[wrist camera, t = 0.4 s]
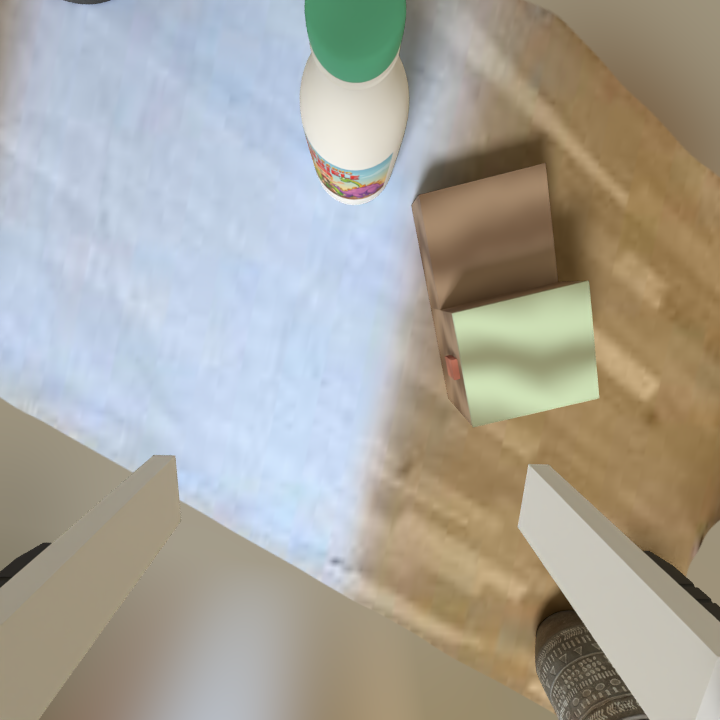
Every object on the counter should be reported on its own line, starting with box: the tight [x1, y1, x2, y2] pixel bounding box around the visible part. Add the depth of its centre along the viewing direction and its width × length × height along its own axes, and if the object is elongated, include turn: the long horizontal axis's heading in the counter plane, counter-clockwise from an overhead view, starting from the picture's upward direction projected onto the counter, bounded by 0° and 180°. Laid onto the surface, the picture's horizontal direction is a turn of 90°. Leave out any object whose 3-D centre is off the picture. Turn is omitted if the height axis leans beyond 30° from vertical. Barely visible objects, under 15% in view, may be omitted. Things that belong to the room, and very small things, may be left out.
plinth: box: [411, 163, 599, 427], centre depth 33 cm, size 22×13×8 cm, turn 13°
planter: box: [535, 610, 649, 720], centre depth 41 cm, size 12×12×13 cm
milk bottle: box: [300, 0, 409, 205], centre depth 24 cm, size 8×8×20 cm
